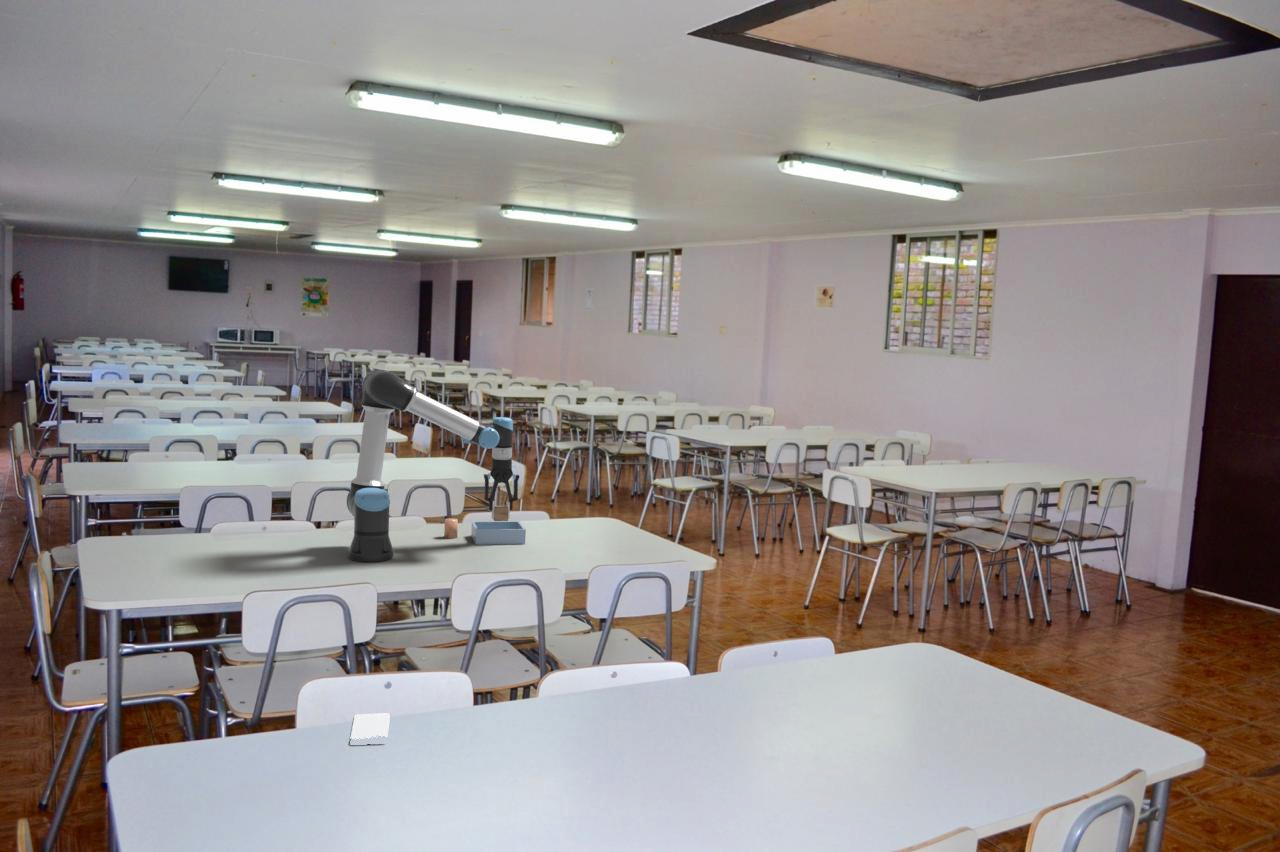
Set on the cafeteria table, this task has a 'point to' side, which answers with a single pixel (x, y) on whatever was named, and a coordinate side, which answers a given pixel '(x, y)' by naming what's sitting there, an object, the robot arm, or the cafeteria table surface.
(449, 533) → the cylinder
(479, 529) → the tote
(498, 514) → the cube
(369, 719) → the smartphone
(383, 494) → the robot arm
